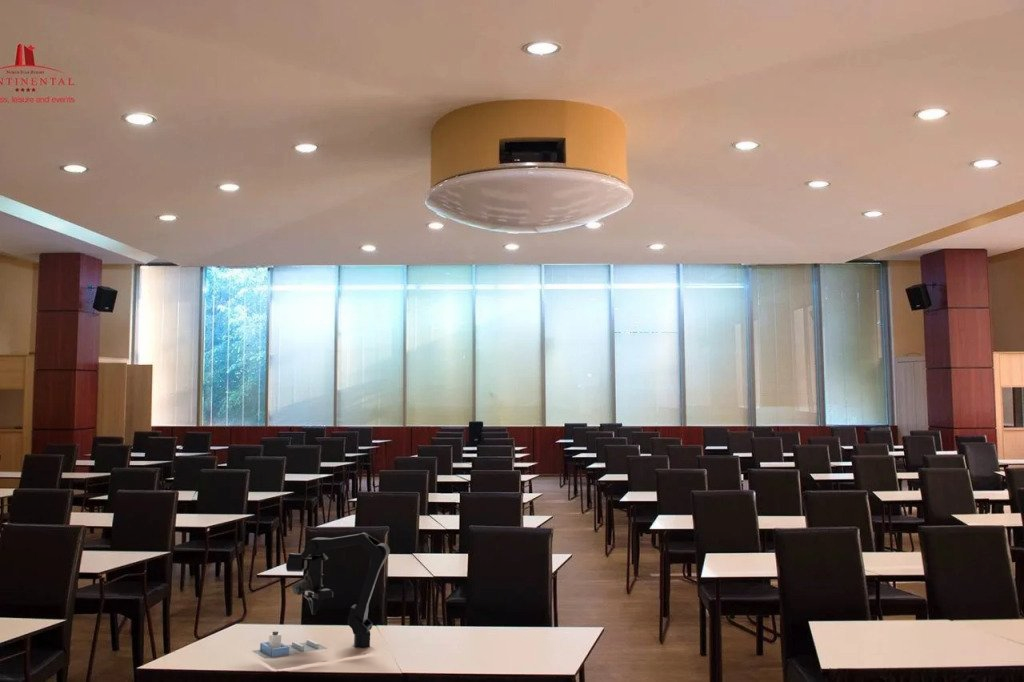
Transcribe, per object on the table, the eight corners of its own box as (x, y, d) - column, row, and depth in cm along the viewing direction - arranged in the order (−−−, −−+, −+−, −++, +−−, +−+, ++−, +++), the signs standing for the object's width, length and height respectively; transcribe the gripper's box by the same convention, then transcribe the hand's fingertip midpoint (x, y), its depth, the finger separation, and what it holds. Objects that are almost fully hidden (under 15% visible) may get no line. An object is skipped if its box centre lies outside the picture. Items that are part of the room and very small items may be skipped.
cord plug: (280, 655, 305) (281, 632, 306) (272, 656, 303) (273, 633, 304) (276, 653, 308) (277, 630, 309) (268, 654, 306) (269, 631, 307)
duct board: (327, 650, 312) (327, 641, 313) (265, 661, 297) (265, 651, 297) (312, 643, 321) (313, 634, 322) (251, 653, 306) (252, 643, 307)
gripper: (283, 571, 322) (282, 613, 321) (307, 577, 308) (305, 622, 307) (310, 568, 330) (309, 609, 328) (334, 574, 316) (333, 617, 314)
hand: (313, 614), depth 319 cm, fingers closed
